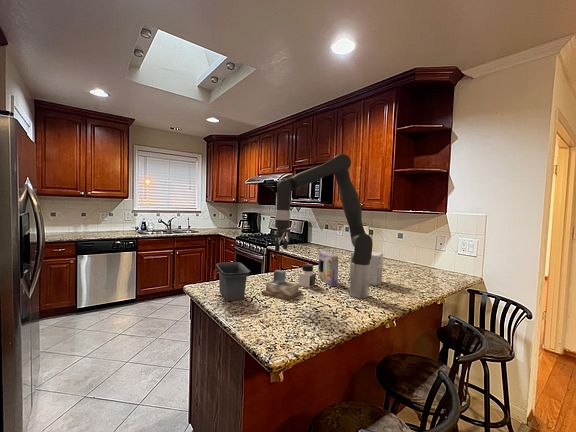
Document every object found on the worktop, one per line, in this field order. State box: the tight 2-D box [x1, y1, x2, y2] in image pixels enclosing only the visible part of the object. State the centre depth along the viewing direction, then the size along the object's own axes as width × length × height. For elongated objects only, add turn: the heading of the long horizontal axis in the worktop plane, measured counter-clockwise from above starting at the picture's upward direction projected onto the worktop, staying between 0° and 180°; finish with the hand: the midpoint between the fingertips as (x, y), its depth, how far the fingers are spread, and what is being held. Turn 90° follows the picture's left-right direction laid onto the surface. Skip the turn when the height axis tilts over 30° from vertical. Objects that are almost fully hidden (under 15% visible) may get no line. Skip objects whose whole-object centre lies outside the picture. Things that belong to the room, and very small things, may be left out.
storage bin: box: [213, 261, 251, 302], centre depth 145 cm, size 21×16×14 cm
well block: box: [261, 279, 303, 302], centre depth 152 cm, size 16×14×6 cm
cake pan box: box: [317, 250, 339, 287], centre depth 179 cm, size 19×5×18 cm, turn 17°
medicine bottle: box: [298, 263, 317, 289], centre depth 170 cm, size 7×7×12 cm
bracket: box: [273, 269, 287, 286], centre depth 152 cm, size 9×4×10 cm, turn 62°
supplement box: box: [349, 251, 384, 286], centre depth 185 cm, size 17×13×18 cm
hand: (281, 250), depth 153 cm, fingers open, 8 cm apart
